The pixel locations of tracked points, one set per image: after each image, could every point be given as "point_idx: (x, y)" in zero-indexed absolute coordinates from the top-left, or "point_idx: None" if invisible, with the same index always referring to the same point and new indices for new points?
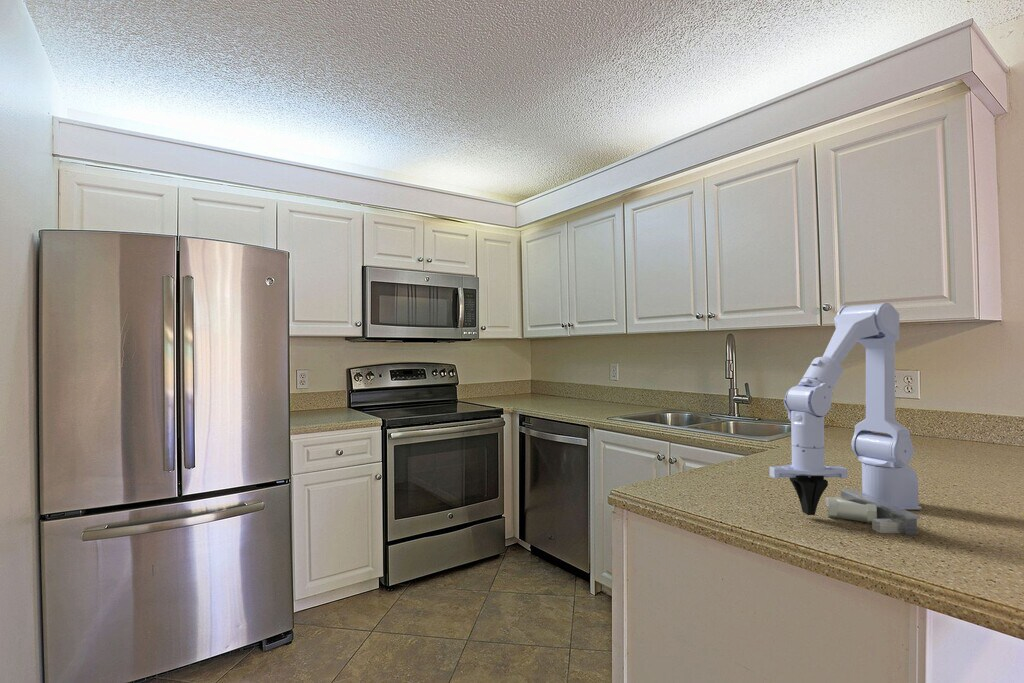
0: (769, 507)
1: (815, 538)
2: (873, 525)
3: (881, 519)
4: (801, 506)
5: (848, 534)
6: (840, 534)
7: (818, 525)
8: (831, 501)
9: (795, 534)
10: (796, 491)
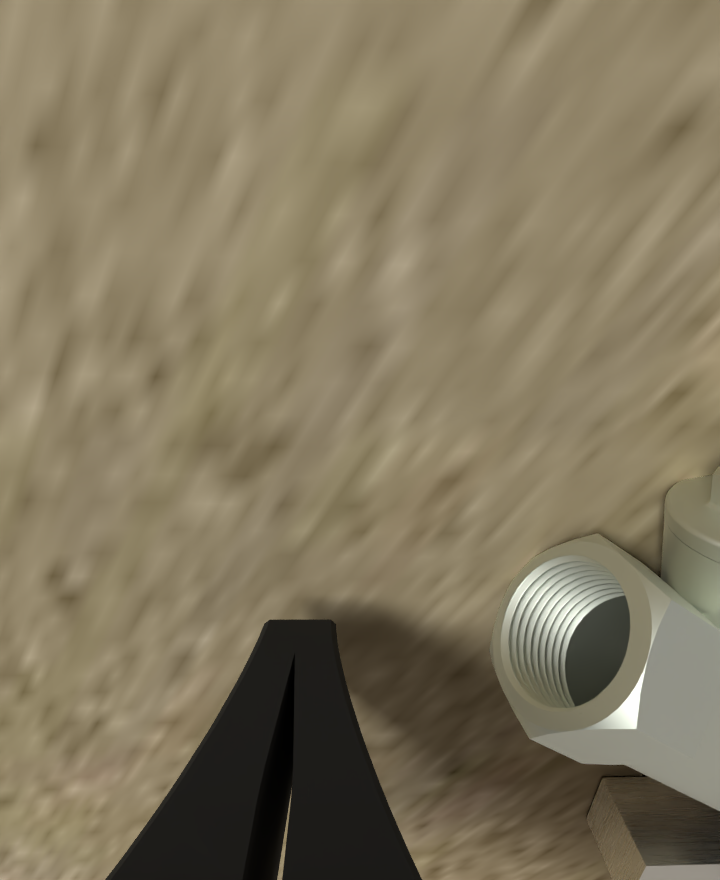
0: (40, 259)
1: None
2: (615, 821)
3: (698, 873)
4: (247, 665)
5: None
6: None
7: None
8: (603, 747)
9: (55, 835)
10: (123, 867)
